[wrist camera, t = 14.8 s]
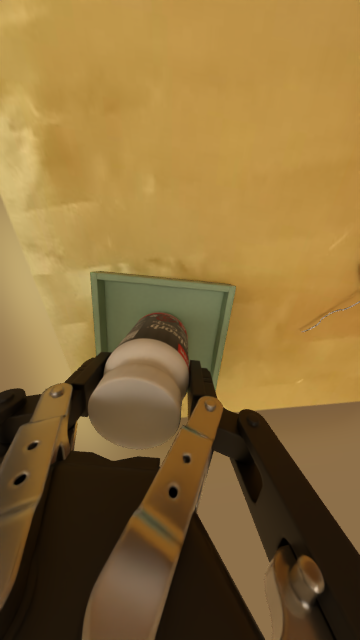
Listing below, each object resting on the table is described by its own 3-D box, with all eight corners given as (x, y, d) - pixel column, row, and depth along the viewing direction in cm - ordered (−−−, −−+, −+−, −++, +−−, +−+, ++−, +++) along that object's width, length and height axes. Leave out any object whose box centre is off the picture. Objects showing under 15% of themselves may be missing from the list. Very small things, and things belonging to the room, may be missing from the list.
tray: (105, 373, 21) (98, 384, 19) (100, 271, 17) (89, 272, 15) (211, 383, 21) (214, 395, 19) (230, 283, 17) (236, 286, 15)
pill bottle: (198, 334, 18) (217, 416, 8) (164, 369, 19) (145, 472, 10) (156, 298, 16) (120, 344, 7) (123, 338, 18) (55, 420, 8)
